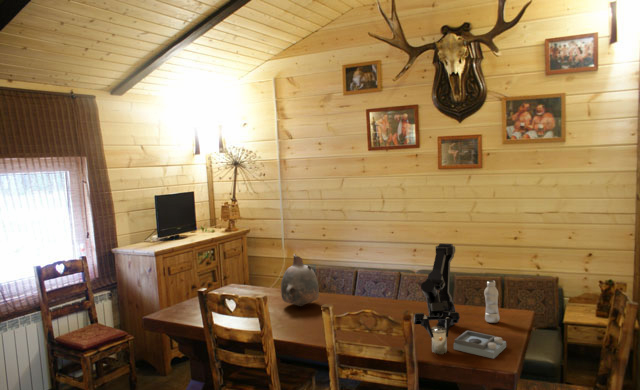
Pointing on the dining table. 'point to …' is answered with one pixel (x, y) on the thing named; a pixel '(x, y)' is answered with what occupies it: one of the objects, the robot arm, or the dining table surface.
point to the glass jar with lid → (439, 340)
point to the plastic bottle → (491, 303)
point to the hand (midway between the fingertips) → (439, 337)
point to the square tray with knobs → (479, 344)
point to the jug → (299, 284)
